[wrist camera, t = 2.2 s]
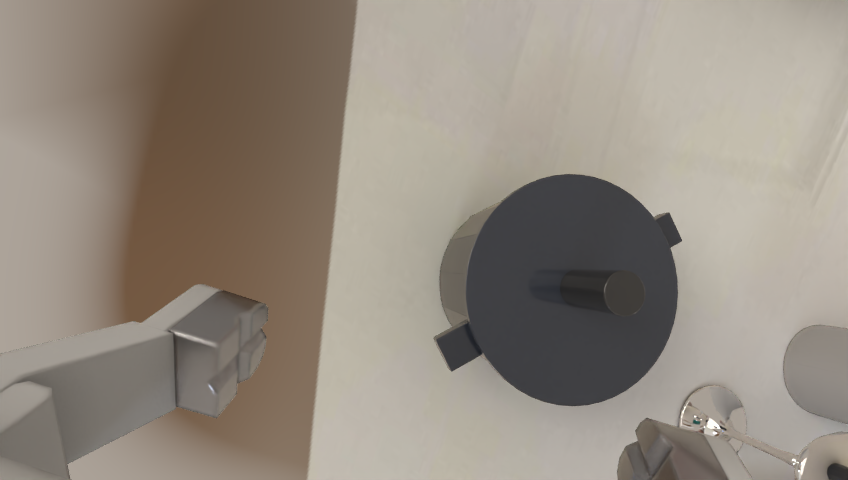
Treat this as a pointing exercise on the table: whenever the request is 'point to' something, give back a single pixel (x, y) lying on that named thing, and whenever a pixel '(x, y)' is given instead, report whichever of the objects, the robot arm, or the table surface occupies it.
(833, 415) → the cup
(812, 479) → the wineglass
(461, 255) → the enamel pot
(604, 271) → the pot lid
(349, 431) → the table surface
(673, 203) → the table surface
